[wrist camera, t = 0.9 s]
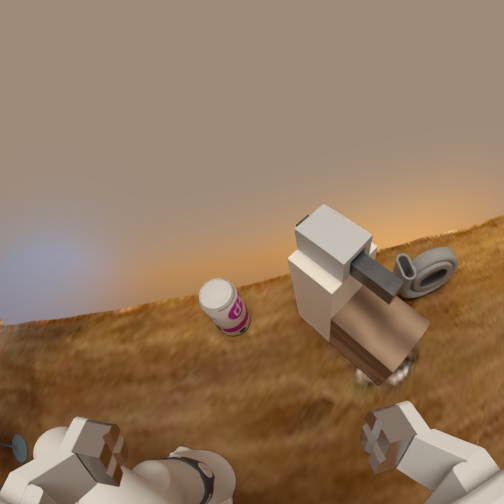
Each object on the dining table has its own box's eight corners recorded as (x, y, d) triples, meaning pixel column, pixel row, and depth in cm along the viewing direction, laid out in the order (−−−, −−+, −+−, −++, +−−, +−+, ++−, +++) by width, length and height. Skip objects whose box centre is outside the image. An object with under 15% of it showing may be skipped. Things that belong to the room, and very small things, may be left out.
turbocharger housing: (438, 269, 65) (456, 234, 53) (448, 290, 61) (469, 257, 49) (383, 286, 67) (394, 251, 55) (392, 309, 63) (406, 277, 51)
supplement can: (256, 311, 71) (241, 281, 59) (242, 341, 67) (223, 317, 55) (227, 302, 74) (208, 271, 62) (213, 330, 70) (189, 304, 58)
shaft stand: (329, 342, 62) (332, 276, 39) (298, 315, 68) (283, 238, 45) (363, 306, 65) (381, 225, 42) (332, 282, 71) (333, 195, 48)
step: (378, 385, 53) (393, 372, 42) (329, 342, 62) (330, 319, 51) (411, 345, 56) (430, 323, 45) (363, 306, 65) (370, 276, 54)
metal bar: (389, 305, 40) (393, 296, 38) (297, 236, 51) (295, 224, 49) (400, 291, 41) (404, 282, 38) (309, 226, 52) (308, 214, 50)
